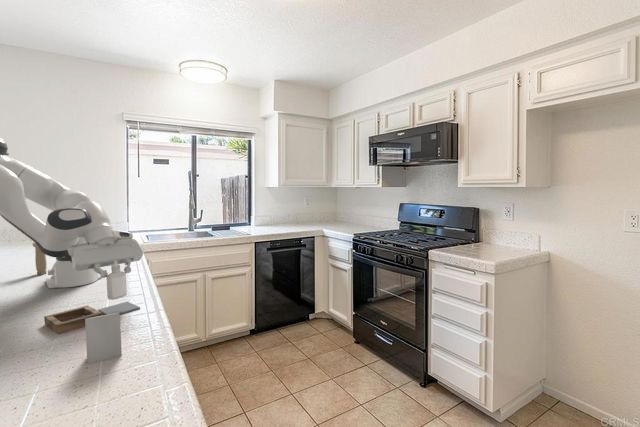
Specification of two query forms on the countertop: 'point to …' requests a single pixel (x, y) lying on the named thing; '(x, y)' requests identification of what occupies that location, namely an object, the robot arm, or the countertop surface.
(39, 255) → the handle
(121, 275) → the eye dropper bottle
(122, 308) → the coaster
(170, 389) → the countertop surface
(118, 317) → the white rectangular box
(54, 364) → the countertop surface
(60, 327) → the block
